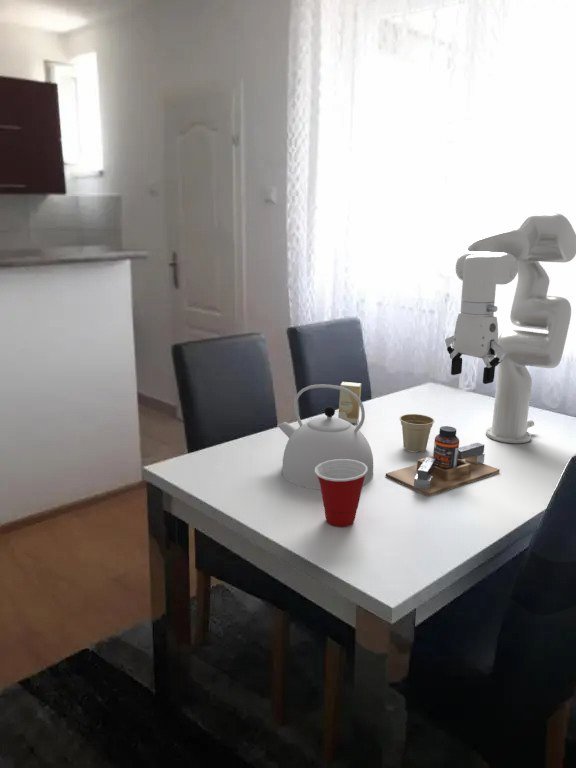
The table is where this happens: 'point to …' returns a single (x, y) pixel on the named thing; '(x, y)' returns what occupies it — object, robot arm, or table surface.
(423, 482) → the pair of grey blocks
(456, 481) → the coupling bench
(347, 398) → the skincare box
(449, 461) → the supplement bottle
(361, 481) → the plastic cup
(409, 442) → the flower pot
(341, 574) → the table surface
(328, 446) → the kettle
